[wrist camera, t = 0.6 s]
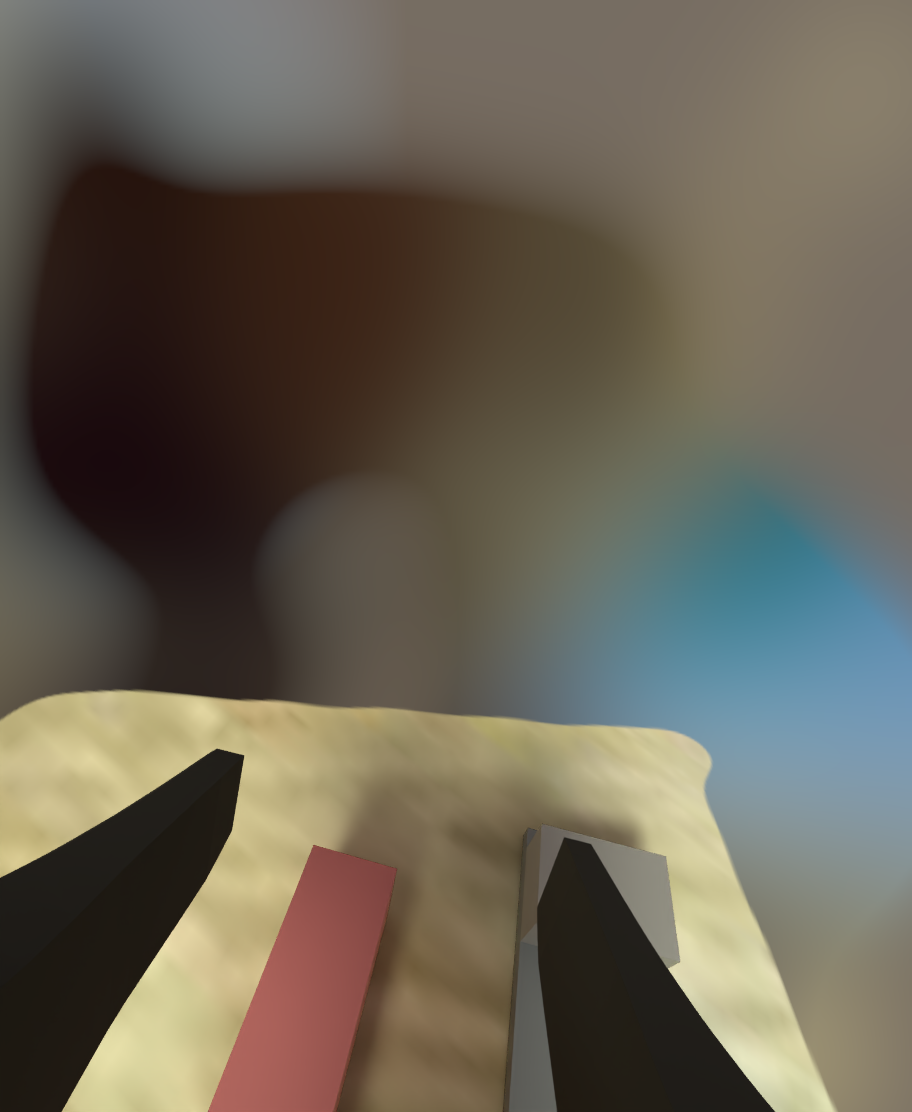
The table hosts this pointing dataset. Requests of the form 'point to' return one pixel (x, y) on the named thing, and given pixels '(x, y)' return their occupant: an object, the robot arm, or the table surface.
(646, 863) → the display rack
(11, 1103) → the robot arm
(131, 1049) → the table surface
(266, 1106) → the frame bar
